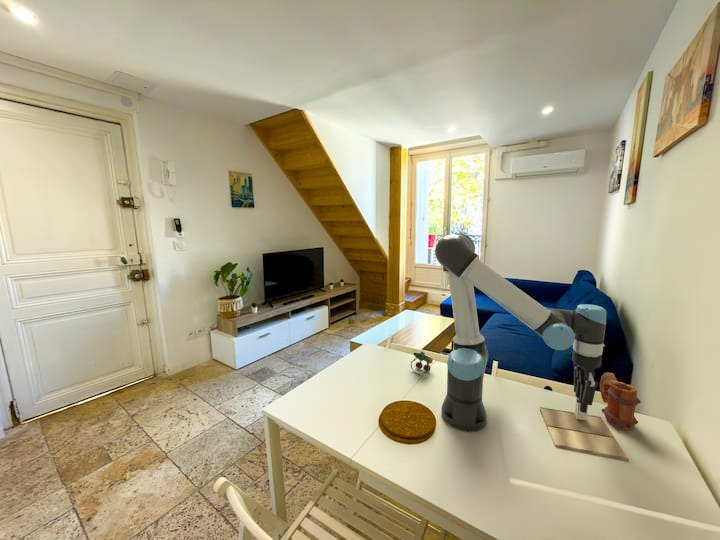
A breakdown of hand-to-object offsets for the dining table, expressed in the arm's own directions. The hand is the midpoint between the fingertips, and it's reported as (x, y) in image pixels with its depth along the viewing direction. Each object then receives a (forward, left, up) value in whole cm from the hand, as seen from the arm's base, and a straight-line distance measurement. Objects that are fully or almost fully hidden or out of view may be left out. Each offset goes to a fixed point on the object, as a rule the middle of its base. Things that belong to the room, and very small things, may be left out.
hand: (580, 417), depth 98 cm
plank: (-2, -2, -2) cm, 3 cm away
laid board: (-2, -11, -2) cm, 11 cm away
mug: (+12, +6, -3) cm, 13 cm away
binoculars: (-55, +21, -3) cm, 59 cm away
